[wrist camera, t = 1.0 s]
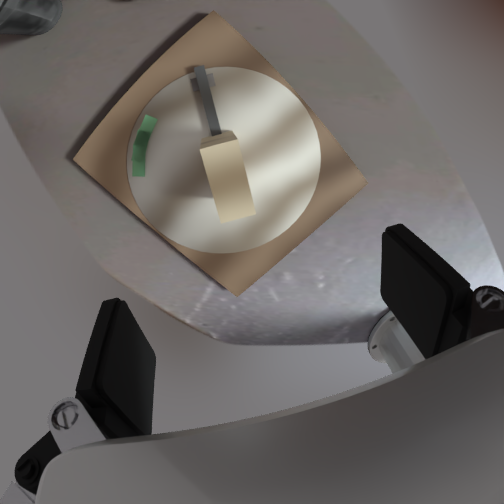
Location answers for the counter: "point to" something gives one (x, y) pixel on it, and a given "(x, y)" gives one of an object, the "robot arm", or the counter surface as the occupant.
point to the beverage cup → (29, 16)
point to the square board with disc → (192, 167)
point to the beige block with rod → (223, 162)
